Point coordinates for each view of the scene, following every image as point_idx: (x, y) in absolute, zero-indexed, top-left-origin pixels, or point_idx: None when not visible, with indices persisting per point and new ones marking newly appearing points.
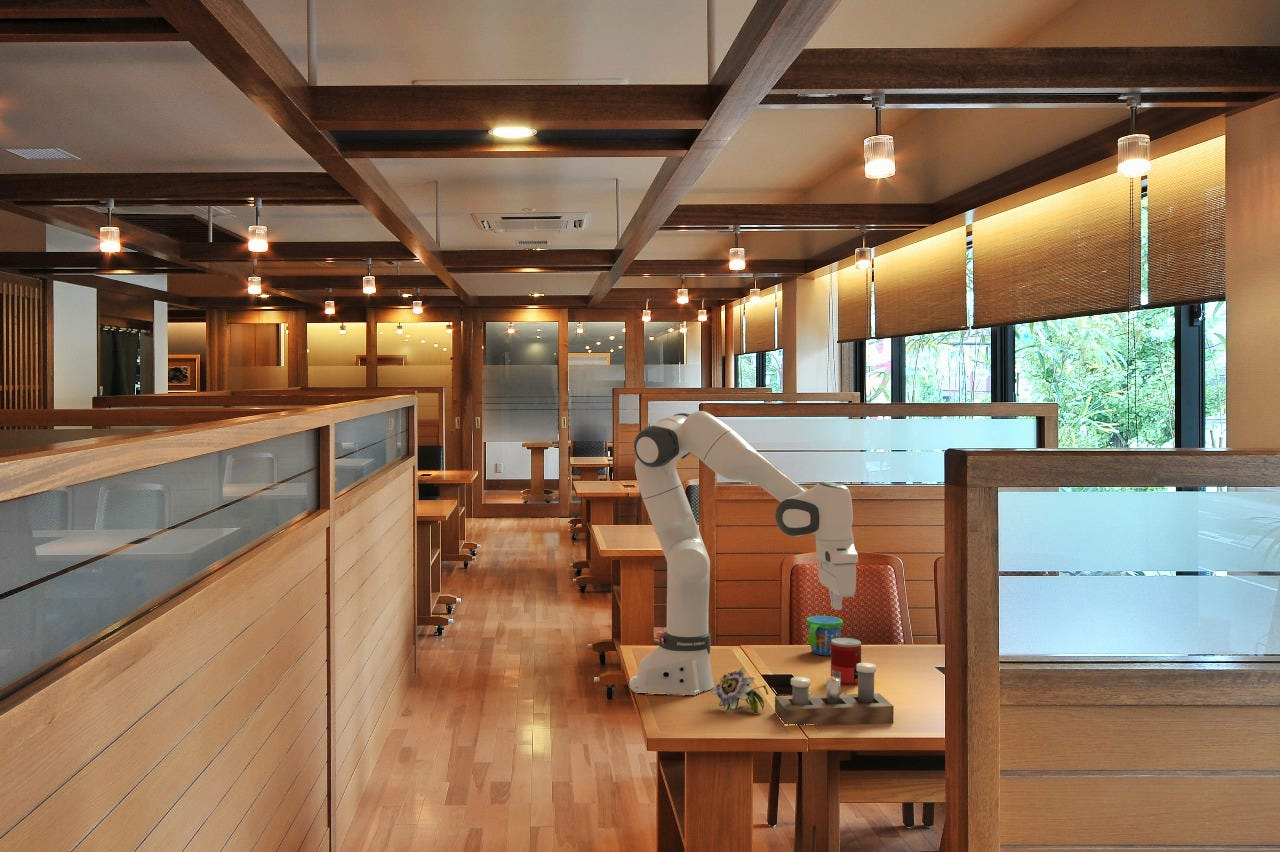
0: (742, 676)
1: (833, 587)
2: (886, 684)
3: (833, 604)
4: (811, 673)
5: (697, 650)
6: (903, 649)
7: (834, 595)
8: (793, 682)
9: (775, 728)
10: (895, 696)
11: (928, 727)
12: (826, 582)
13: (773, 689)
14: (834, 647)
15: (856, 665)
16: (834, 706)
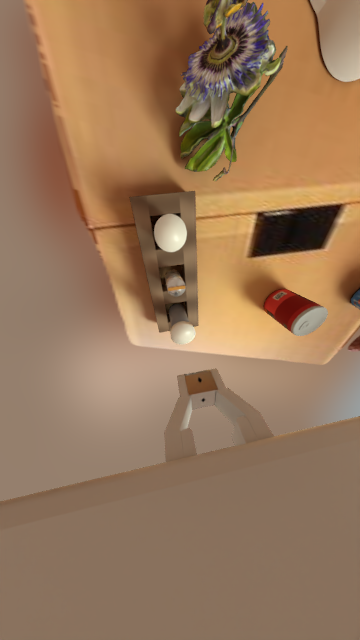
0: (232, 86)
1: (98, 533)
2: (257, 330)
3: (191, 385)
4: (313, 272)
5: None
6: (328, 349)
7: (168, 435)
8: (160, 217)
9: (120, 181)
10: (226, 332)
11: (150, 344)
12: (287, 482)
13: (281, 212)
14: (305, 306)
15: (185, 324)
16: (152, 276)
